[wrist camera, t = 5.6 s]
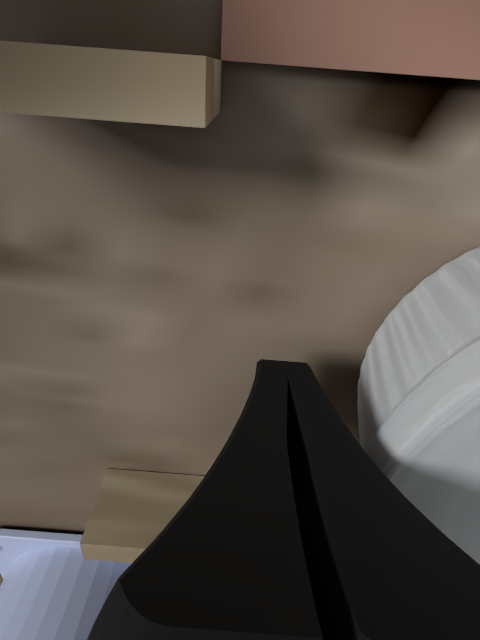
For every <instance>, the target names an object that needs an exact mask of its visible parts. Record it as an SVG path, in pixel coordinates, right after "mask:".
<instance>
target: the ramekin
mask: <svg viewBox="0 0 480 640" xmlns="http://www.w3.org/2000/svg"><path fill="white" fill-rule="evenodd" d="M357 391H358V401H357V408H358V423H359V441H360V445H361V447H362V448H363V449H364V451H365V452H366V453H367V454H368V455H369V457H370V458H371V459H372V460H373V462H374V463H375V464H376V465H377V466H378V468H379V469H380V470H381V471H382V472H383V473H384V474H385V476H386V477H387V478H388V479H389V480H390V481H391V482H392V483H393V484H394V486H395V487H396V488H397V489H398V490H399V491H400V492H401V493H402V494H403V495H404V496H405V497H406V498H407V499H408V500H409V501H410V502H411V503H412V504H413V505H414V506H415V507H416V508H417V509H418V510H419V511H420V512H421V513H422V514H423V515H424V516H426V517H427V518H428V519H429V520H430V521H431V522H432V523H433V524H434V525H435V526H436V527H437V528H438V529H439V530H440V531H441V532H442V533H444V534H445V535H446V536H447V537H448V538H449V539H450V540H451V541H453V542H454V543H455V544H456V545H457V546H458V547H460V548H461V549H462V550H463V551H464V552H465V553H467V554H468V555H469V556H470V557H471V558H472V559H474V560H475V561H476V562H477V563H478V564H480V247H478V248H475V249H473V250H470V251H468V252H466V253H465V254H463V255H461V256H460V257H458V258H456V259H454V260H452V261H450V262H448V263H447V264H445V265H443V266H442V267H441V268H439V269H438V270H437V271H436V272H434V273H433V274H431V275H430V276H428V277H426V278H425V279H423V280H422V281H421V282H420V283H419V284H418V285H417V286H416V287H415V288H414V289H413V290H412V291H411V292H410V293H408V294H407V295H405V296H404V297H403V298H402V300H401V301H400V302H399V303H398V305H397V306H396V307H395V308H394V309H393V310H392V311H391V312H390V313H389V314H388V315H387V317H386V319H385V320H384V322H383V324H382V325H381V326H380V328H379V329H378V330H377V331H376V333H375V335H374V337H373V340H372V342H371V343H370V345H369V346H368V348H367V351H366V355H365V358H364V360H363V362H362V365H361V369H360V377H359V380H358V386H357Z"/></svg>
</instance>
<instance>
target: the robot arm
mask: <svg viewBox="0 0 480 640" xmlns="http://www.w3.org/2000/svg"><path fill="white" fill-rule="evenodd" d="M82 536H83V535H80V534H67V533H54V532H41V531H28V530H15V529H3V528H0V573H1V575H2V577H3V579H4V580H3V582H2V584H1V586H0V640H480V564H478V563H477V562H476V561H475V560H474V559H472V558H471V557H470V556H469V555H468V554H467V553H465V552H464V551H463V550H462V549H461V548H460V547H458V546H457V545H456V544H455V543H454V542H453V541H451V540H450V539H449V538H448V537H447V536H446V535H445V534H444V533H442V532H441V531H440V530H439V529H438V528H437V527H436V526H435V525H434V524H433V523H432V522H431V521H430V520H429V519H428V518H427V517H426V516H424V515H423V514H422V513H421V512H420V511H419V510H418V509H417V508H416V507H415V506H414V505H413V504H412V503H411V502H410V501H409V500H408V499H407V498H406V497H405V496H404V495H403V494H402V493H401V492H400V491H399V490H398V489H397V488H396V487H395V486H394V484H393V483H392V482H391V481H390V480H389V479H388V478H387V477H386V476H385V474H384V473H383V472H382V471H381V470H380V469H379V468H378V466H377V465H376V464H375V463H374V462H373V460H372V459H371V458H370V457H369V455H368V454H367V453H366V452H365V451H364V449H363V448H362V447H361V445H360V444H359V443H358V441H357V440H356V439H355V437H354V436H353V435H352V433H351V432H350V431H349V429H348V428H347V426H346V425H345V424H344V422H343V421H342V419H341V418H340V416H339V415H338V413H337V412H336V410H335V409H334V407H333V406H332V404H331V403H330V401H329V399H328V398H327V396H326V394H325V393H324V391H323V390H322V388H321V386H320V384H319V383H318V381H317V379H316V377H315V376H314V374H313V372H312V370H311V368H310V366H309V365H308V364H307V363H301V362H288V361H276V360H263V359H261V360H260V361H258V362H257V366H256V375H255V379H254V383H253V386H252V389H251V392H250V394H249V397H248V399H247V402H246V404H245V407H244V409H243V411H242V413H241V416H240V418H239V420H238V421H237V423H236V425H235V427H234V429H233V431H232V433H231V435H230V437H229V439H228V441H227V442H226V444H225V446H224V447H223V449H222V451H221V452H220V454H219V456H218V457H217V459H216V460H215V462H214V464H213V465H212V467H211V468H210V470H209V471H208V472H207V474H206V475H205V477H204V478H203V480H202V481H201V482H200V484H199V485H198V487H197V488H196V489H195V491H194V492H193V493H192V495H191V496H190V497H189V499H188V500H187V501H186V503H185V504H184V505H183V506H182V507H181V509H180V510H179V511H178V512H177V513H176V515H175V516H174V517H173V518H172V519H171V521H170V522H169V523H168V524H167V526H166V527H165V528H164V529H163V530H162V532H161V533H160V534H159V535H158V536H157V537H156V538H155V539H154V541H153V542H152V543H151V544H150V545H149V546H148V547H147V548H146V549H145V550H144V551H143V552H142V553H141V554H140V555H139V556H138V557H137V559H136V560H135V561H134V562H133V563H125V562H112V561H99V560H86V559H84V558H83V555H82V551H81V547H80V541H81V538H82Z"/></svg>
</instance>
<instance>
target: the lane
mask: <svg viewBox="0 0 480 640" xmlns="http://www.w3.org/2000/svg"><path fill="white" fill-rule="evenodd" d="M222 61H233V62H247V63H260V64H273V65H286V66H299V67H313V68H326V69H339V70H352V71H365V72H379V73H392V74H405V75H418V76H432V77H445V78H458V79H471V80H480V0H223V5H222V36H221V60H218V59H215V58H211V57H208V56H200V55H186V54H173V53H160V52H147V51H134V50H120V49H107V48H94V47H81V46H67V45H54V44H41V43H28V42H15V41H1V40H0V112H1V113H14V114H27V115H40V116H53V117H67V118H80V119H93V120H106V121H119V122H133V123H146V124H159V125H172V126H185V127H198V128H205V127H206V126H207V125H208V124H209V123H210V122H211V121H212V120H213V119H214V118H215V117H216V116H217V115H218V114H219V113H220V100H221V71H222ZM204 477H205V476H197V475H184V474H171V473H158V472H145V471H132V470H119V469H108V470H107V473H106V475H105V478H104V481H103V483H102V486H101V489H100V491H99V494H98V496H97V499H96V502H95V504H94V507H93V510H92V512H91V515H90V517H89V520H88V523H87V525H86V528H85V530H84V533H83V536H82V538H81V541H80V547H81V551H82V555H83V558H84V559H86V560H99V561H112V562H125V563H133V562H134V561H135V560H136V559H137V557H138V556H139V555H140V554H141V553H142V552H143V551H144V550H145V549H146V548H147V547H148V546H149V545H150V544H151V543H152V542H153V541H154V539H155V538H156V537H157V536H158V535H159V534H160V533H161V532H162V530H163V529H164V528H165V527H166V526H167V524H168V523H169V522H170V521H171V519H172V518H173V517H174V516H175V515H176V513H177V512H178V511H179V510H180V509H181V507H182V506H183V505H184V504H185V503H186V501H187V500H188V499H189V497H190V496H191V495H192V493H193V492H194V491H195V489H196V488H197V487H198V485H199V484H200V482H201V481H202V480H203V478H204Z"/></svg>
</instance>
